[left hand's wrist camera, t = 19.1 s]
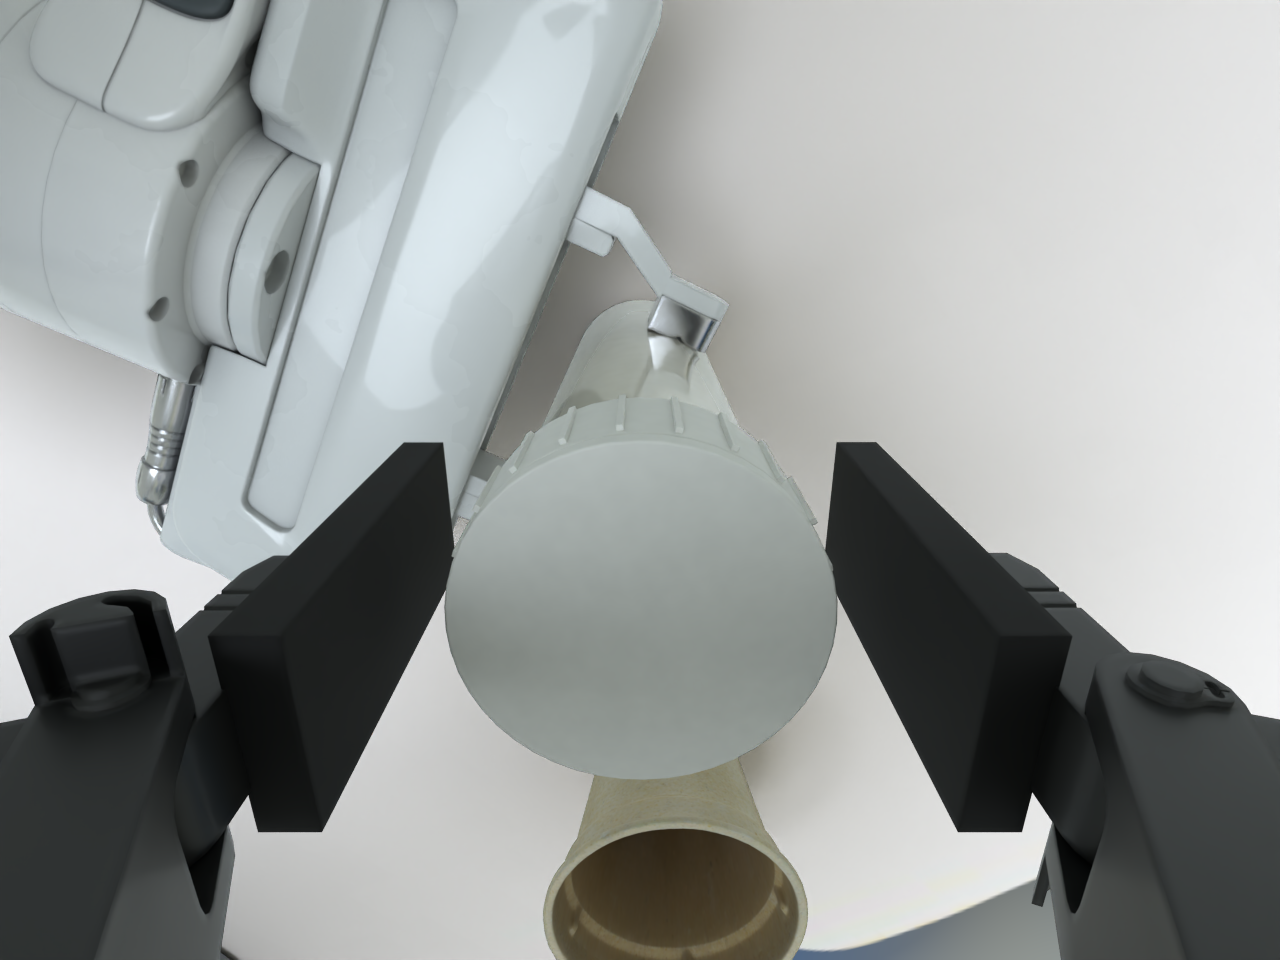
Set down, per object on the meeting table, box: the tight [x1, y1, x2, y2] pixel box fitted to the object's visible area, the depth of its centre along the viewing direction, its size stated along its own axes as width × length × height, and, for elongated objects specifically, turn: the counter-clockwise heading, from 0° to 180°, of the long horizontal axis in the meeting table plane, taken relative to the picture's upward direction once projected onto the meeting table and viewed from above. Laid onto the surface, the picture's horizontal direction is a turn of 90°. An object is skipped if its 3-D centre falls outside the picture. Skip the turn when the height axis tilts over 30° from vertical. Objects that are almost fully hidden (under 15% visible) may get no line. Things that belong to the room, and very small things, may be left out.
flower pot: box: [543, 758, 808, 960], centre depth 29 cm, size 9×9×9 cm
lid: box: [445, 394, 837, 780], centre depth 11 cm, size 6×6×2 cm
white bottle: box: [542, 300, 739, 427], centre depth 19 cm, size 5×5×17 cm
